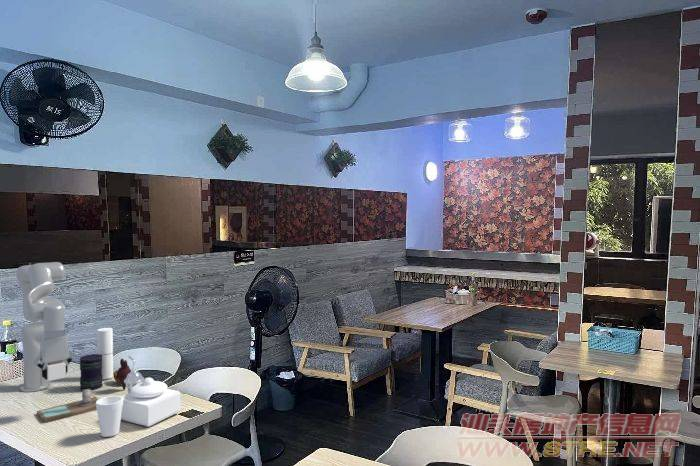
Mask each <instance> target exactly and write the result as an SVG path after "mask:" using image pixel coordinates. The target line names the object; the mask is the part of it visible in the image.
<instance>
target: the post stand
mask: <svg viewBox="0 0 700 466" xmlns="http://www.w3.org/2000/svg"><path fill="white" fill-rule="evenodd" d="M81 391H82V392H81V393H82V394H81V395H82V396H81V397H82V400H77V401H73V402H69V403H63V404H60V405H57V406H52V407H48V408H45V409H40V410H36V415H37V416H38V417H39V419H40V420H41V421H42V422H43V424H48V423H51V422H52V423H53V422H55V421H59V420H62V419H66V418H71V417H74V416H78V415H82V414H86V413H89V412H94V411H97V409H96V401H97V400H98V399H99V398H98V397H96V396H93V397H91V396H92V395H91V391H92V390H90V389H85V390H81Z"/></svg>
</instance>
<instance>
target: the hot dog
mask: <svg viewBox="0 0 700 466" xmlns="http://www.w3.org/2000/svg"><path fill="white" fill-rule="evenodd" d="M117 371H118V369H117V370H115V371H113V379H114V381H115V382H116V383H117V384H119V385H121V383H120V380H119V379H117V378H116V376H117ZM121 386H122V385H121Z"/></svg>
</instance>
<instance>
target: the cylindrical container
mask: <svg viewBox="0 0 700 466" xmlns="http://www.w3.org/2000/svg"><path fill="white" fill-rule="evenodd" d="M96 331H97V332H96V333H97V334H96V335H97V337H96V339H97V340H96V341H97V342H96V343H97V345H96V346H97V351H96V352H97V354H100V355H102V365H103V366H102V376H103V377H102V378H103V380H109V379H111V378H114V375H113V373H114V344H113V343H114V340H113V339H114V336H113V331H114V329H113V328H112V327H101V328H98V329H97V330H96Z"/></svg>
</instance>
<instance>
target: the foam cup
mask: <svg viewBox="0 0 700 466" xmlns="http://www.w3.org/2000/svg"><path fill="white" fill-rule="evenodd" d="M121 396H122V395H108V396H104V397H101V398H97V399H98V400H97V401H96V409H97V410H96V412H97V418H98V423H99V430H100V436H101V437H103V438H107V437H113V436H116V435H118V433H120V427H121V421H122V420H121V413H122V405H123V397H121Z"/></svg>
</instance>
